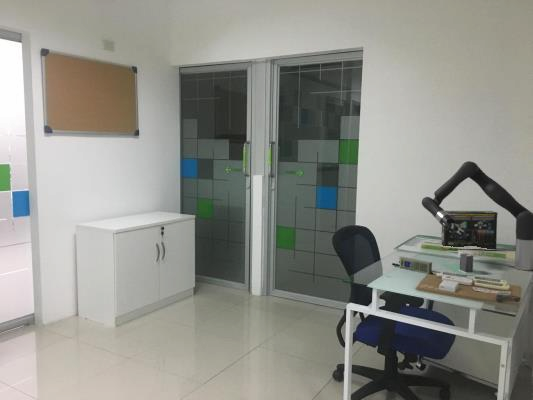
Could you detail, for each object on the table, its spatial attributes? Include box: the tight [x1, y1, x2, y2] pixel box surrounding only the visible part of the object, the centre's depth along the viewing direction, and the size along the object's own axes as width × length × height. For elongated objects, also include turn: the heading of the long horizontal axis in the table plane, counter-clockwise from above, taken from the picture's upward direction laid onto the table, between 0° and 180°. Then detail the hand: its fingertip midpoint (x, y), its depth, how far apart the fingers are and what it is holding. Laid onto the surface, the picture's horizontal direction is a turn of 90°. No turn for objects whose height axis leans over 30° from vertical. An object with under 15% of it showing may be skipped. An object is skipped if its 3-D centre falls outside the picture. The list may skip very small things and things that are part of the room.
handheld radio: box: [391, 256, 433, 275], centre depth 261 cm, size 7×3×25 cm
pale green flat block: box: [440, 263, 483, 277], centre depth 258 cm, size 22×14×5 cm, turn 7°
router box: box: [441, 210, 499, 250], centre depth 322 cm, size 36×11×27 cm, turn 81°
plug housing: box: [459, 253, 474, 272], centre depth 252 cm, size 6×4×9 cm, turn 7°
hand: (461, 235), depth 263 cm, fingers open, 8 cm apart
